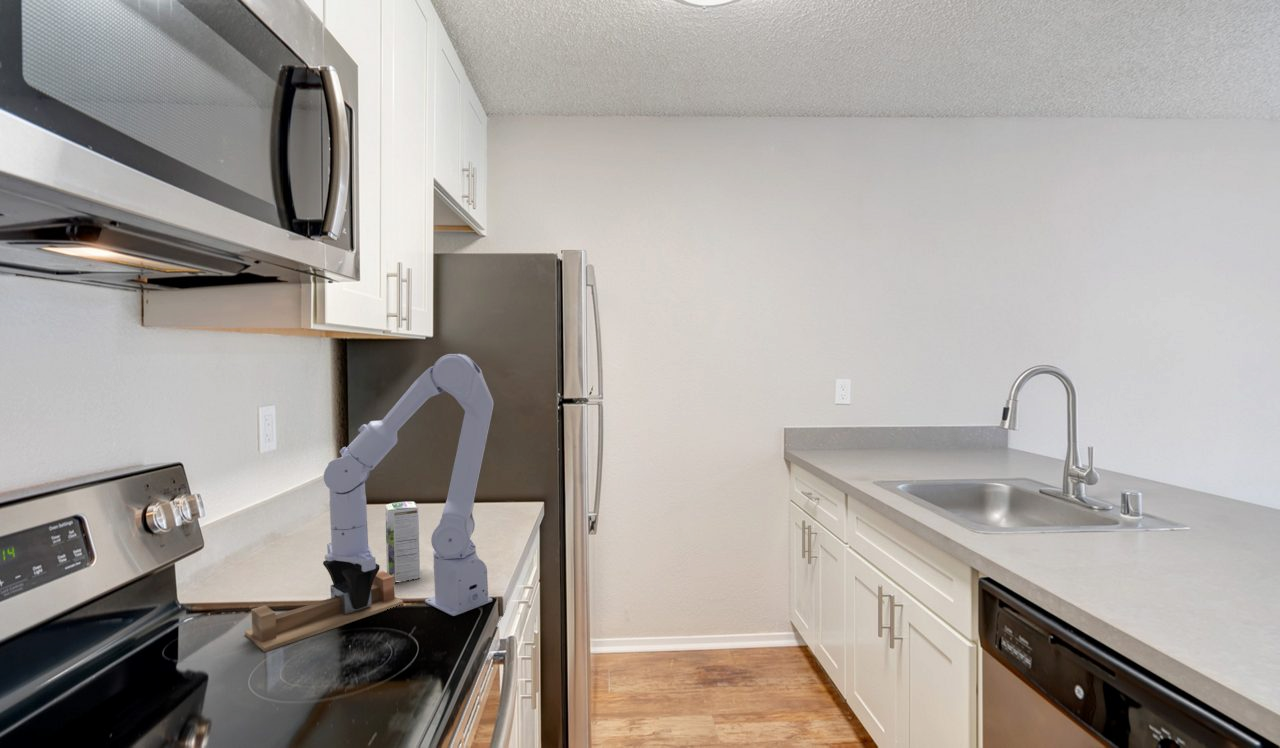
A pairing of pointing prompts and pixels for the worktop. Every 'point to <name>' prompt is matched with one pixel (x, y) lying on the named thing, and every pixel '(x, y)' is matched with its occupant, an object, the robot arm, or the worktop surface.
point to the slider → (345, 597)
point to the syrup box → (402, 541)
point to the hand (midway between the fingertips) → (352, 602)
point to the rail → (316, 616)
